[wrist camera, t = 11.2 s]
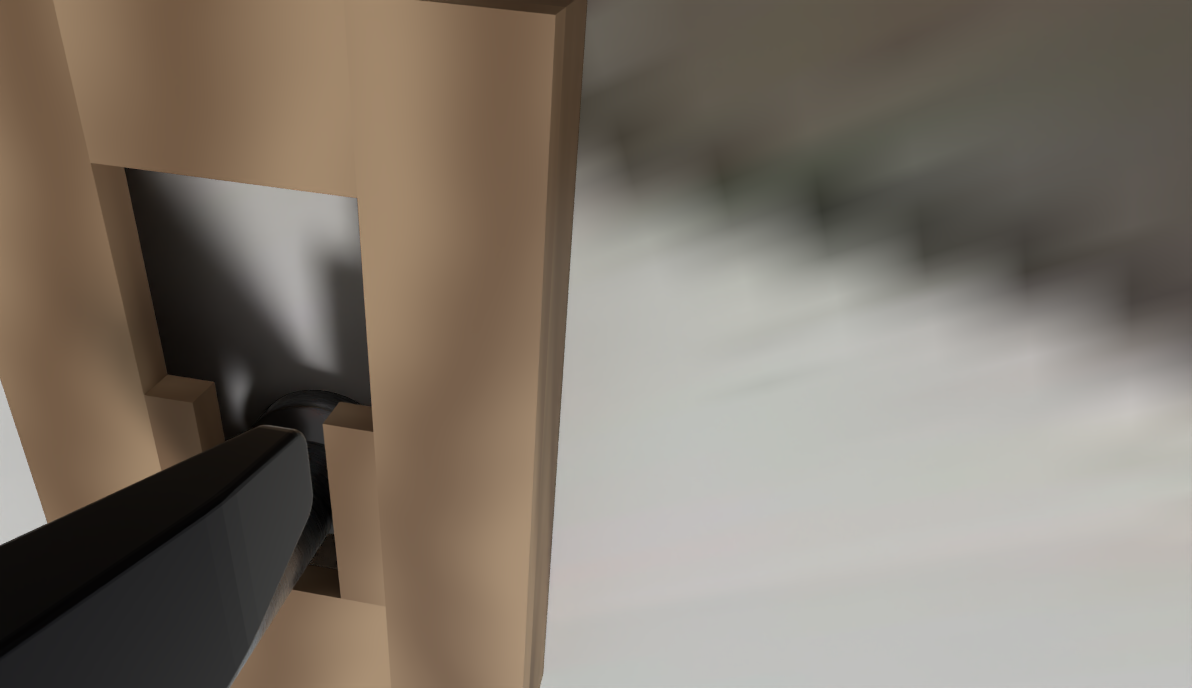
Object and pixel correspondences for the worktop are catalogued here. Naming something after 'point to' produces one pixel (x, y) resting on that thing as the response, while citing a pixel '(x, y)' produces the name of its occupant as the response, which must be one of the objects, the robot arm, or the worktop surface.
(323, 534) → the tee peg
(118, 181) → the keyhole board
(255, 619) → the robot arm
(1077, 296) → the worktop surface
